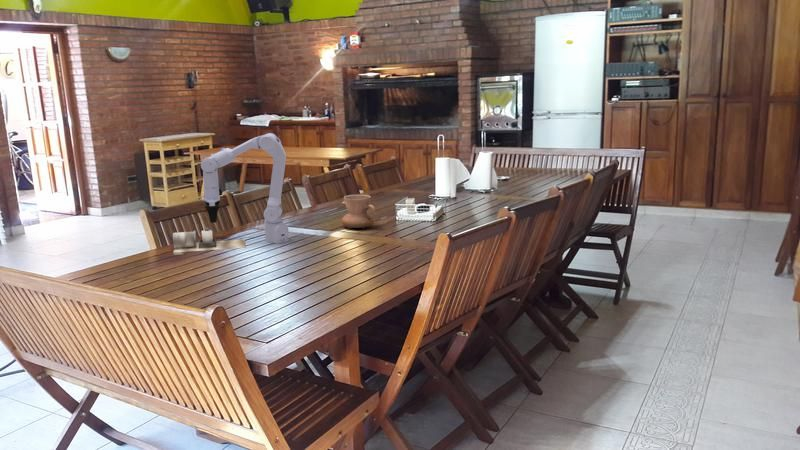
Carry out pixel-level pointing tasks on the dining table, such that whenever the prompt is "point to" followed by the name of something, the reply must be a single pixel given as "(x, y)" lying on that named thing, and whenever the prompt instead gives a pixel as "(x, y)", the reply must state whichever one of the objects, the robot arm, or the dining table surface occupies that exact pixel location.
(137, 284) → the dining table surface
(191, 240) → the motor mount
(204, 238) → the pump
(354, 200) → the ceramic jug
